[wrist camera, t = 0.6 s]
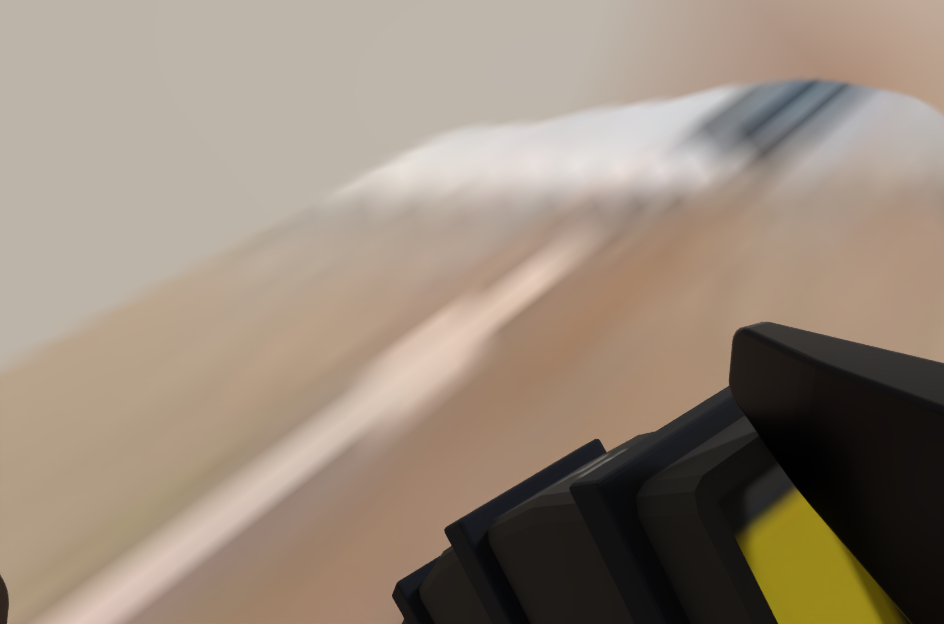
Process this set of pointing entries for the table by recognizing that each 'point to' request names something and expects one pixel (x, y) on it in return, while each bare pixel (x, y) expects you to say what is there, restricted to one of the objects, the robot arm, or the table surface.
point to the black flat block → (650, 541)
